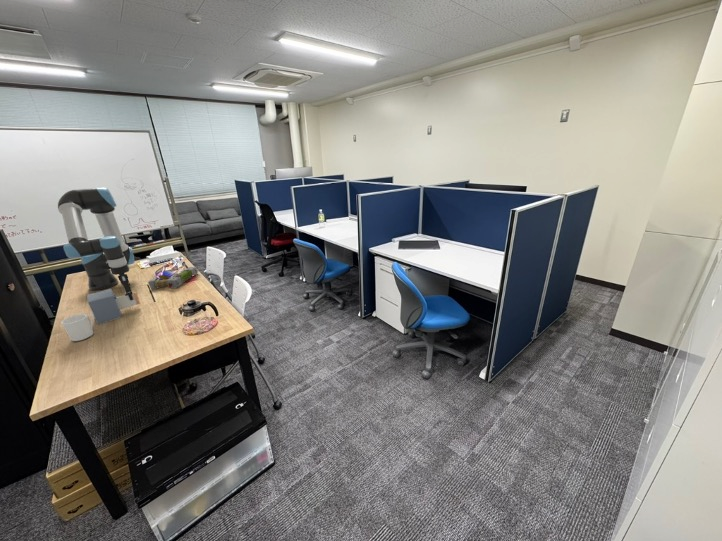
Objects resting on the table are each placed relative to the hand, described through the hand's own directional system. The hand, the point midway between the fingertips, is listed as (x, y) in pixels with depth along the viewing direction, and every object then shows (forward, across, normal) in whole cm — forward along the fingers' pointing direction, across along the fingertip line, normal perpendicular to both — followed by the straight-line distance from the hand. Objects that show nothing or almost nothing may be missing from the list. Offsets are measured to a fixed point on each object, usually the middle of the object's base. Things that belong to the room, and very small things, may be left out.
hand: (132, 300), depth 162 cm
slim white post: (+3, 0, -6) cm, 7 cm away
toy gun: (+6, -26, +26) cm, 37 cm away
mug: (+6, +15, -22) cm, 27 cm away
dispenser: (+5, 0, -12) cm, 13 cm away
